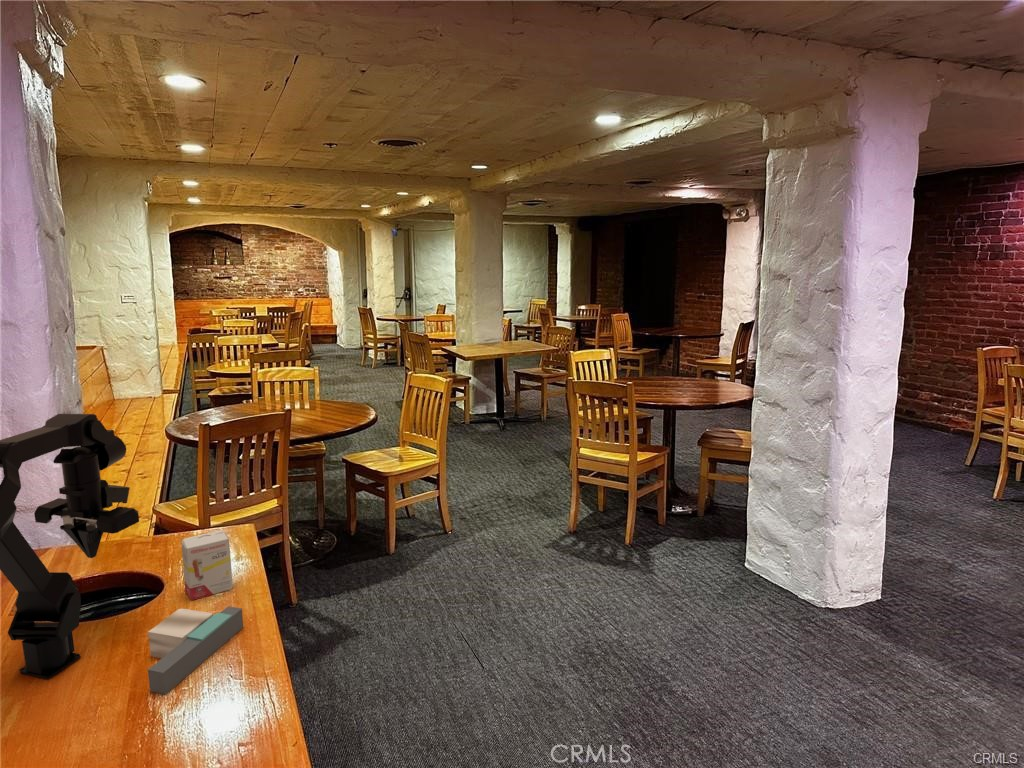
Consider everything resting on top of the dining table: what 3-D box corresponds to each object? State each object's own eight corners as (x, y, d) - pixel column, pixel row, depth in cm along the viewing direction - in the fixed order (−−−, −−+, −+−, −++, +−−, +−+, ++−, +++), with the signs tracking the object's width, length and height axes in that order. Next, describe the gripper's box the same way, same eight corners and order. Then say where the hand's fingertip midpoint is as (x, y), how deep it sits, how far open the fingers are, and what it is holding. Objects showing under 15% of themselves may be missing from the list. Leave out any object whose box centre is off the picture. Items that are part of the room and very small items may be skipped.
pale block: (184, 663, 117) (182, 637, 115) (150, 657, 118) (148, 631, 117) (214, 637, 124) (212, 613, 123) (182, 632, 126) (180, 608, 125)
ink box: (190, 601, 136) (184, 548, 133) (184, 591, 140) (179, 539, 137) (233, 589, 141) (229, 537, 138) (227, 579, 145) (223, 529, 142)
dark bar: (165, 694, 108) (163, 670, 107) (149, 691, 109) (147, 667, 108) (243, 627, 127) (242, 606, 126) (229, 625, 128) (227, 604, 127)
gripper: (157, 470, 129) (164, 545, 132) (79, 461, 133) (88, 533, 136) (109, 490, 118) (119, 571, 121) (27, 479, 123) (38, 557, 126)
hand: (92, 557), depth 127 cm, fingers closed
